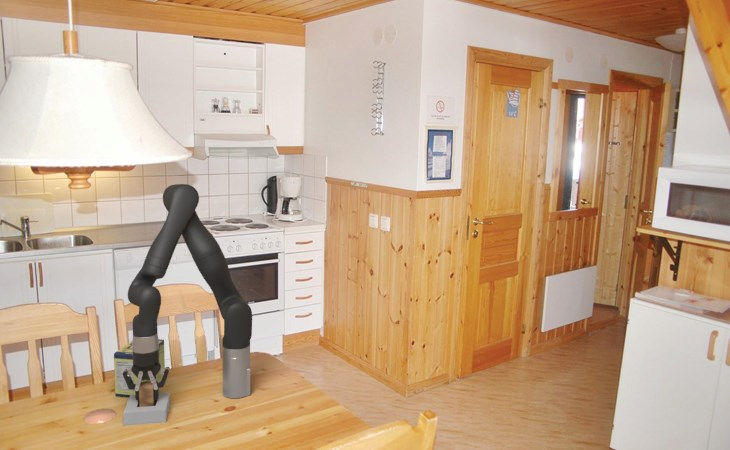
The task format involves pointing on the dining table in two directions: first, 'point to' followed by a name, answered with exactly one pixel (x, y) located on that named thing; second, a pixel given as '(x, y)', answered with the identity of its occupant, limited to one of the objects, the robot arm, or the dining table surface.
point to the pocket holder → (146, 411)
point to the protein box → (125, 361)
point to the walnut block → (146, 394)
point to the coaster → (99, 416)
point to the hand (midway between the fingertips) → (147, 400)
